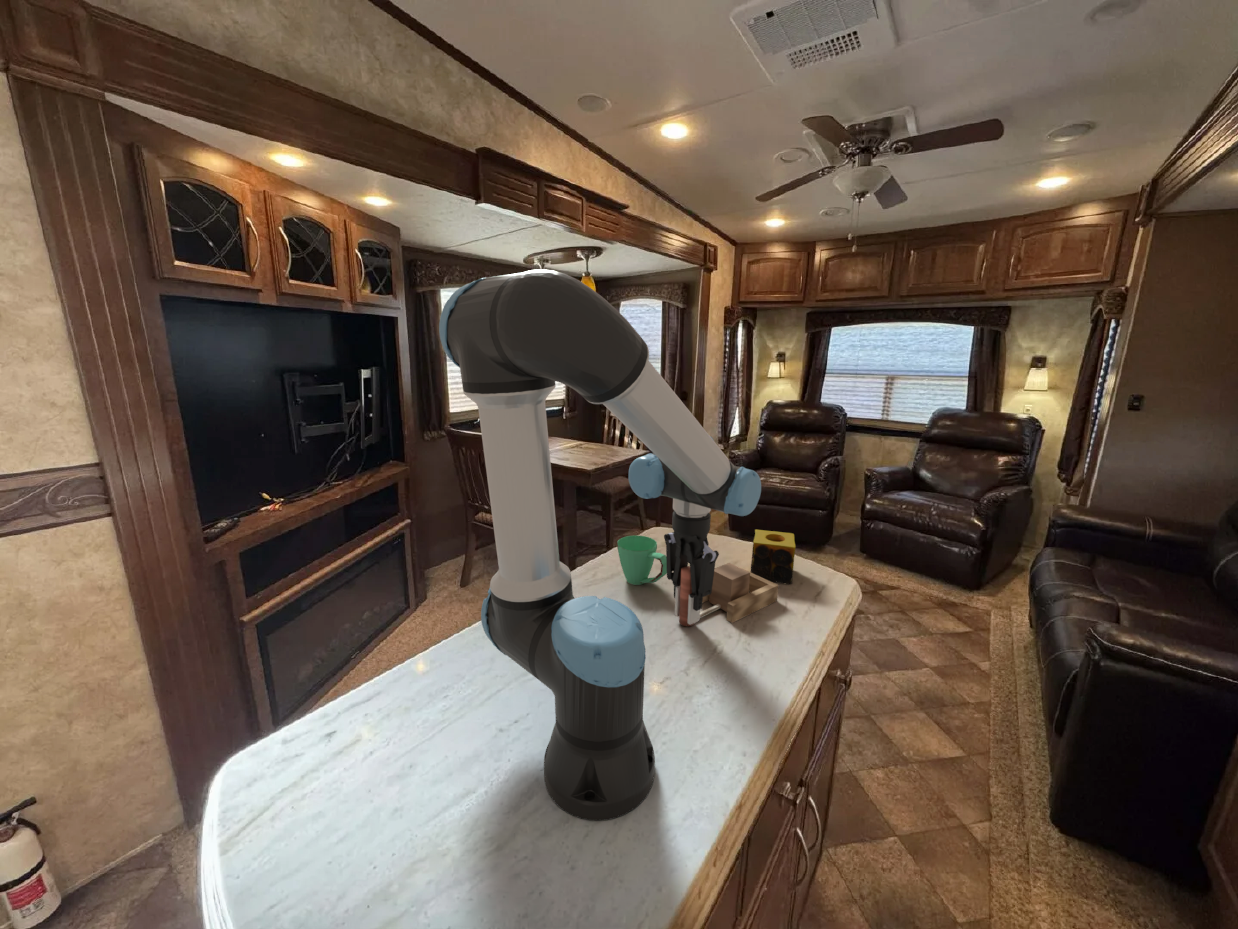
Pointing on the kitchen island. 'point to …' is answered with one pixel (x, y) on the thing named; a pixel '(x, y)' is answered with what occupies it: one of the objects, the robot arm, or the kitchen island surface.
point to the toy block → (773, 556)
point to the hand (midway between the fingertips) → (686, 617)
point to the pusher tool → (715, 589)
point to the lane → (751, 598)
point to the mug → (640, 559)
